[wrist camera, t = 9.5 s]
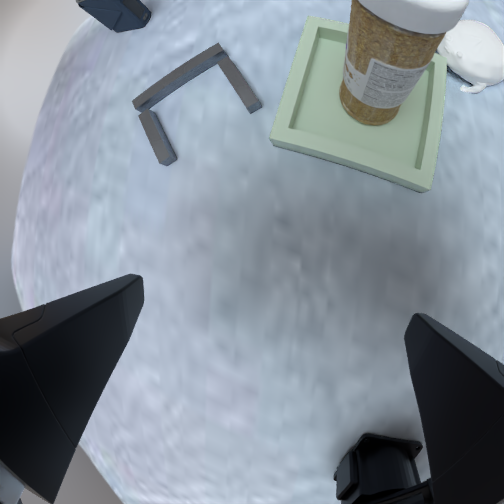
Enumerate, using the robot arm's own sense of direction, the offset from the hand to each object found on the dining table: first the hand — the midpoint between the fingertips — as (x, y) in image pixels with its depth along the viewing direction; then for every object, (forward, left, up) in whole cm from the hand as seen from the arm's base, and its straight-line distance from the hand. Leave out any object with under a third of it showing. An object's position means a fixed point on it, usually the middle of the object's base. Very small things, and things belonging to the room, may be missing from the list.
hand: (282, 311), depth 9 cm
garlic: (-9, -21, -12) cm, 26 cm away
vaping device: (+23, -19, -12) cm, 32 cm away
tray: (-1, -13, -12) cm, 17 cm away
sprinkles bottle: (-1, -13, -12) cm, 17 cm away
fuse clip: (+11, -9, -12) cm, 18 cm away
